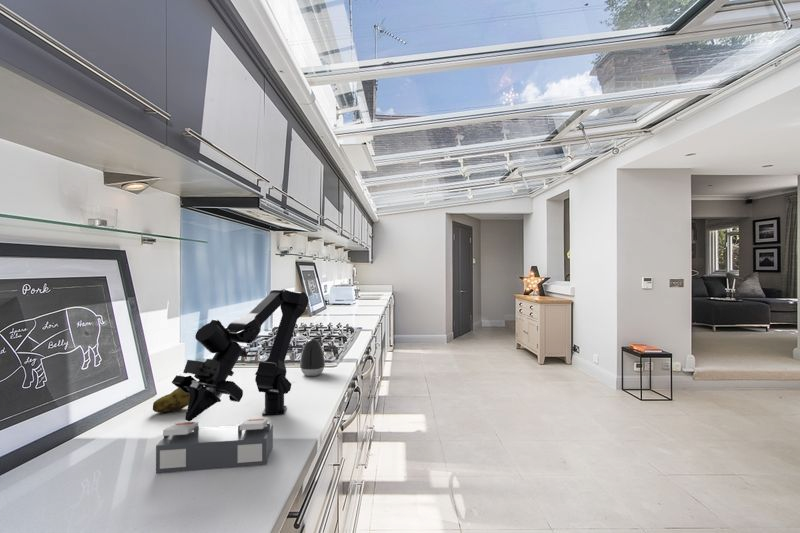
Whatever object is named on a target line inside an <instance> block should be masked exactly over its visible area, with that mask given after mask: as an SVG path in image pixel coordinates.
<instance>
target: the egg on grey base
mask: <svg viewBox="0 0 800 533" xmlns="http://www.w3.org/2000/svg"><path fill="white" fill-rule="evenodd" d="M321 342H322V338H319V339H316V338H309V339H308V340H306V343H305V344H304V346H303V349H302V352H301V357H300V361H299V362H300V363H299V368H300V370H301V372H302V374H303V375H304V376H306V377H318V376H319V375H321V374H322V373H323V371H324V370H325V366H326V362H325V354H324V351H323V348H322V345H321V344H320V343H321Z"/></svg>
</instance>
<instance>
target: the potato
mask: <svg viewBox="0 0 800 533" xmlns="http://www.w3.org/2000/svg"><path fill="white" fill-rule="evenodd" d="M189 400H190V394H188V393H185V392H183V391H182V390H181V389H179V388H178V387H177V388H176V389H174V390H173V391H172V392H170V393H169V394H168V393H167V394H166V395H163V396H161V397H159V398H158V399H156V400H155V401H154V402H153V403H152V411H153V412H155V413H159V414H163V413H167V412H175V411H179V410H182V409H184V408H186V407H188V405H189Z"/></svg>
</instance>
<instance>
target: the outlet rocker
mask: <svg viewBox="0 0 800 533" xmlns="http://www.w3.org/2000/svg"><path fill="white" fill-rule="evenodd" d="M199 423H200V422H199V421H186V422H185V421H184V422H176V423H174V424H172V425H170V426H168V427H166V428H165V429H163V430H162V436H163V437H164V436H168V435H184V434H189V433H190V432H192V431H193V430H194V428H195V427H196V426H199Z"/></svg>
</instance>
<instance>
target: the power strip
mask: <svg viewBox="0 0 800 533" xmlns="http://www.w3.org/2000/svg"><path fill="white" fill-rule="evenodd" d="M240 424H241V423H239V424H236V425H221V426H220V425H219V426H205V427H204V426H202V427H199V425H198V426H196V427H195V428H194V430H193V431H192V432H190V433H189V434H184V435H168V436H163V438H162V439H161V440H160V441H159V442H158V443H157V444H156V445H155V473H156V474H165V473H166V474H167V473H179V472H191V471H192V472H193V471H204V470H205V471H207V470H217V469H232V468H244V467H245V468H246V467H257V466H258V467H259V466H266V465H267V464H268V461H269V459H270V457H271V453H272V451H273V448H274V431H273V430H274V423H273V422H271V421H268V422H267V425H266V426H265V427H264V428H263V429H252V430H240Z"/></svg>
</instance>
